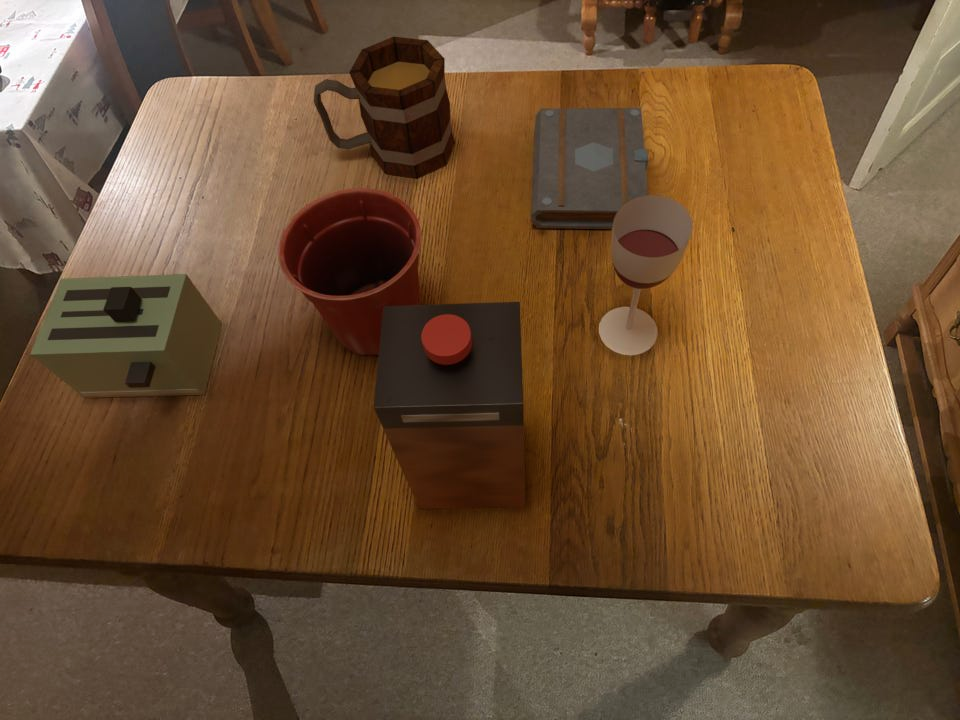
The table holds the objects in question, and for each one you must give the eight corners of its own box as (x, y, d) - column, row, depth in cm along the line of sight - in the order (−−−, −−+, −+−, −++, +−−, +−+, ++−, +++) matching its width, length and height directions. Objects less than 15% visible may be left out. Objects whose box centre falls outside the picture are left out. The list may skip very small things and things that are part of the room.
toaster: (77, 417, 84) (20, 375, 75) (109, 327, 91) (60, 278, 82) (200, 414, 83) (157, 371, 74) (222, 323, 90) (186, 273, 81)
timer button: (422, 365, 53) (420, 356, 52) (424, 324, 55) (422, 314, 54) (472, 364, 53) (470, 355, 52) (472, 322, 55) (471, 313, 54)
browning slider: (115, 322, 77) (102, 309, 75) (122, 300, 79) (110, 287, 77) (135, 321, 77) (123, 308, 75) (142, 299, 79) (130, 286, 77)
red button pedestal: (419, 510, 75) (373, 409, 53) (423, 429, 80) (383, 305, 58) (524, 508, 74) (523, 405, 52) (522, 426, 80) (519, 301, 57)
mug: (450, 114, 109) (439, 29, 96) (460, 172, 102) (450, 89, 89) (332, 131, 109) (306, 48, 96) (334, 190, 102) (305, 110, 89)
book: (535, 130, 106) (535, 103, 101) (639, 129, 104) (644, 103, 100) (530, 229, 95) (531, 205, 91) (647, 231, 94) (653, 206, 89)
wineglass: (584, 340, 85) (597, 237, 68) (617, 294, 89) (638, 184, 71) (639, 369, 83) (668, 269, 65) (671, 320, 86) (706, 213, 69)
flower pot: (306, 371, 85) (264, 299, 72) (327, 270, 94) (292, 188, 80) (432, 372, 84) (413, 299, 70) (442, 270, 92) (427, 186, 79)
